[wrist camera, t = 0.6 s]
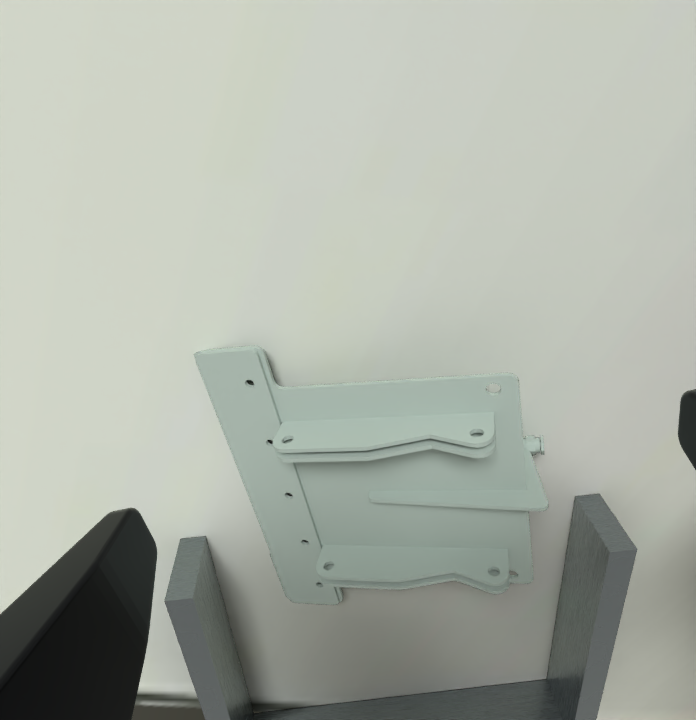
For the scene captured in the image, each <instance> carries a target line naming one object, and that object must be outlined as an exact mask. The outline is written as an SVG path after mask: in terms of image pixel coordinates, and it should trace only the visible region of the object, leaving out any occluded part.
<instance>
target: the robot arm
mask: <svg viewBox="0 0 696 720" xmlns="http://www.w3.org/2000/svg"><path fill="white" fill-rule="evenodd" d="M678 437H679V442H680V444H681V447H682V449H683V450H684V452H685V454H686V455H687V457H688V458H689V460H690V462H691V463H692V465H693V466H694V468H695V470H696V389H694V390H690V391H687V392H685V393H684V394H683V395H682V397H681V402H680V414H679V427H678ZM156 561H157V548H156V544H155V541H154V539H153V537H152V535H151V533H150V531H149V529H148V528H147V526H146V524H145V522H144V520H143V518H142V516H141V514H140V513H139V511H138V510H136V509H135V508H127V509H122V510H117V511H113V512H110V513H109V514H107V515H106V516H105V517H104V518H103V519H102V520H101V521H100V522H99V523H98V524H97V525H95V526H94V527H93V528H92V529H91V530H90V531H89V532H88V533H87V534H86V535H85V536H84V537H83V538H82V539H80V540H79V541H78V542H77V543H76V544H75V545H74V546H73V547H72V548H71V549H70V550H69V551H68V552H67V553H65V554H64V555H63V556H62V557H61V558H60V559H59V560H58V561H57V562H56V563H55V564H54V565H53V566H52V567H50V568H49V569H48V570H47V571H46V572H45V573H44V574H43V575H42V576H41V577H40V578H39V579H38V580H37V581H36V582H34V583H33V584H32V585H31V586H30V587H29V588H28V589H27V590H26V591H25V592H24V593H23V594H22V595H21V596H19V597H18V598H17V599H16V600H15V601H14V602H13V603H12V604H11V605H10V606H9V607H8V608H7V609H6V610H4V611H3V612H2V613H1V614H0V720H131V719H132V714H133V709H134V705H135V700H136V696H137V691H138V687H139V682H140V677H141V673H142V668H143V663H144V659H145V653H146V648H147V643H148V635H149V628H150V618H151V609H152V599H153V590H154V580H155V571H156Z"/></svg>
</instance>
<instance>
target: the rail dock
mask: <svg viewBox="0 0 696 720" xmlns="http://www.w3.org/2000/svg"><path fill="white" fill-rule="evenodd" d="M636 552H637V548H636V547H635V545H634V544H633V542H632V541H631V539H630V538H629V536H628V535H627V533H626V532H625V531H624V529H623V528H622V526H621V525H620V523H619V522H618V520H617V519H616V517H615V516H614V514H613V513H612V511H611V510H610V509H609V507H608V506H607V504H606V503H605V501H604V500H603V498H602V497H601V495H600V494H594V495H585V496H576V497H575V502H574V508H573V515H572V521H571V528H570V534H569V540H568V547H567V553H566V559H565V566H564V572H563V579H562V585H561V591H560V598H559V604H558V611H557V617H556V623H555V630H554V636H553V642H552V649H551V655H550V662H549V668H548V674H547V680H539V681H530V682H521V683H513V684H504V685H495V686H487V687H478V688H469V689H461V690H452V691H444V692H435V693H426V694H418V695H409V696H400V697H392V698H383V699H374V700H366V701H357V702H348V703H340V704H331V705H322V706H314V707H305V708H297V709H288V710H279V711H271V712H262V713H253V709H252V705H251V702H250V698H249V694H248V691H247V687H246V683H245V680H244V676H243V672H242V669H241V665H240V661H239V658H238V654H237V650H236V646H235V643H234V639H233V635H232V632H231V628H230V624H229V621H228V617H227V613H226V610H225V606H224V602H223V599H222V595H221V591H220V588H219V584H218V580H217V576H216V573H215V569H214V565H213V562H212V558H211V554H210V551H209V547H208V543H207V540H206V536H203V537H194V538H184V539H180V543H179V547H178V551H177V554H176V558H175V562H174V566H173V570H172V574H171V578H170V582H169V586H168V589H167V593H166V597H165V604H166V607H167V610H168V613H169V616H170V619H171V621H172V624H173V627H174V630H175V633H176V636H177V639H178V642H179V645H180V647H181V650H182V653H183V656H184V659H185V662H186V665H187V668H188V671H189V673H190V676H191V679H192V682H193V685H194V688H195V691H196V694H197V697H198V699H199V702H200V705H201V708H202V711H203V714H204V717H205V720H596V718H597V714H598V710H599V706H600V702H601V698H602V693H603V689H604V685H605V681H606V677H607V673H608V668H609V664H610V660H611V656H612V652H613V648H614V643H615V639H616V635H617V631H618V627H619V623H620V619H621V614H622V610H623V606H624V602H625V598H626V594H627V589H628V585H629V581H630V577H631V573H632V569H633V564H634V560H635V556H636Z"/></svg>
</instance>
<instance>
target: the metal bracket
mask: <svg viewBox="0 0 696 720" xmlns="http://www.w3.org/2000/svg"><path fill="white" fill-rule="evenodd" d="M194 356H195V360H196V364H197V366H198V369H199V371H200V374H201V376H202V379H203V381H204V384H205V386H206V389H207V391H208V394H209V397H210V399H211V402H212V404H213V407H214V409H215V412H216V414H217V417H218V419H219V422H220V425H221V427H222V430H223V432H224V435H225V437H226V440H227V442H228V445H229V447H230V450H231V453H232V455H233V458H234V460H235V463H236V465H237V468H238V470H239V473H240V475H241V478H242V481H243V483H244V486H245V488H246V491H247V493H248V496H249V498H250V501H251V503H252V506H253V509H254V511H255V514H256V516H257V519H258V521H259V524H260V526H261V529H262V531H263V534H264V536H265V539H266V542H267V544H268V547H269V549H270V556H271V558H272V561H273V564H274V566H275V569H276V571H277V574H278V577H279V579H280V582H281V585H282V587H283V590H284V592H285V595H286V597H287V598H289V600H290V601H292V602H294V603H306V604H325V605H337V604H338V603H339V602H341V601H342V599H343V593H342V589H341V587H346V588H368V589H391V590H404V589H409V588H415V587H421V586H426V585H432V584H438V583H443V582H449V581H458V582H461V583H463V584H466V585H469V586H472V587H474V588H477V589H480V590H483V591H485V592H488V593H491V594H501V593H504V592H505V591H506V590H507V589H508V588H509V585H510V583H518V584H528V583H531V582H532V581H533V565H532V552H531V538H530V525H529V511H545V510H547V509H548V500H547V497H546V494H545V491H544V488H543V486H542V483H541V480H540V477H539V474H538V472H537V469H536V466H535V463H534V460H533V458H532V455H535V453H540V450H541V455H542V454H544V441H543V435H540V440H539V438H534V436H526V438H523V430H522V417H521V403H520V390H519V380H518V377H517V376H516V375H514V374H513V373H496V374H480V375H465V376H449V377H433V378H418V379H402V380H386V381H371V382H355V383H340V384H324V385H308V386H293V387H282V386H279V385H278V384H276V382H275V380H274V378H273V375H272V371H271V368H270V365H269V362H268V359H267V356H266V353H265V351H264V349H263V348H261V347H260V346H255V345H254V346H242V347H231V348H220V349H209V350H204V351H200V352H196V353H195V354H194ZM247 380H251V381H253V382H254V385H250V384H248V383H247ZM489 384H497V385H499V386H500V388H501V389H500V390H499V391H498V392H496V393H490V392H489V391H487V389H486V387H487V386H488V385H489ZM268 440H272V441H273V444H270V443H269V442H268ZM286 493H290V494H292V496H288V495H287V494H286ZM303 540H306V541H308V542H304V541H303ZM509 571H515V572H517V573H518V574H516V575H510V572H509ZM318 582H319V583H322V584H318Z"/></svg>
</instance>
